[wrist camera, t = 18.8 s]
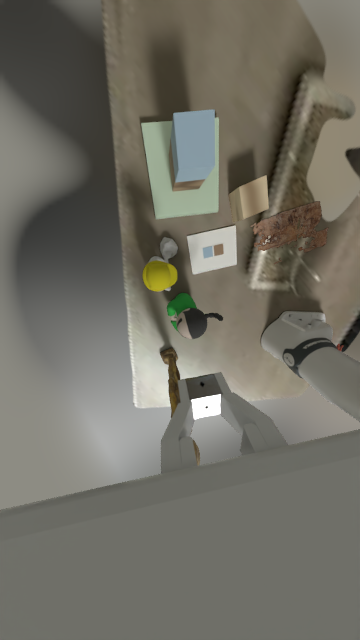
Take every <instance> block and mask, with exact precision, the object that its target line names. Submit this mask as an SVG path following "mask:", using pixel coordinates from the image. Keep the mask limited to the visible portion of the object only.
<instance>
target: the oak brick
mask: <svg viewBox="0 0 360 640" xmlns="http://www.w3.org/2000/svg"><path fill="white" fill-rule="evenodd" d="M229 201H230V207H231V213H232V219H233V222H236V221H239V220H242V219H245V218H247V217H250V216H252V215H255V214H257V213H259V212H262V211H264V210H267V209H269V206H268V190H267V175H266V176H263V177H261V178H259V179H256V180H254V181H252V182H249V183H247V184H245V185H242V186H240V187H238V188H237V189H236V190H234V191H233V192H231V193H230V194H229Z"/></svg>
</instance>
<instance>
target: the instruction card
mask: <svg viewBox="0 0 360 640" xmlns="http://www.w3.org/2000/svg"><path fill="white" fill-rule="evenodd" d="M187 241H188V247H189V254H190V260H191V267H192V273H193V274H198V273H202V272H206V271H211V270H215V269H219V268H224V267H228V266H232V265H236V264H237V257H236V225H235V226H231V227H226V228H222V229H217V230H213V231H208V232H204V233H199V234H195V235H191V236H187Z"/></svg>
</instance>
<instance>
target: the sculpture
mask: <svg viewBox="0 0 360 640" xmlns="http://www.w3.org/2000/svg"><path fill="white" fill-rule="evenodd" d="M160 355H161V357H162V360H163V361H164V363H165V364H167V365H169V368H168V373H169V380H168V383H169V397H170V403H171V409H172V413H171V418H172V416H173V414H174V412H175V410H176V408H177V405H178V403H181V401H180V394H179V387H178V380H180V374H179V371H178V368H177V366H176V360H177V359H178V357H177V354H176V353H175V351H174V349H173V348H170V349H168V350H165V351H163V352H160ZM191 432H192V431H191ZM193 445H194V450H195V456H196V461H197V466H198V465H199V463H200V453H199V449H198V446H197V445H196V443H195V441H194V440H193Z"/></svg>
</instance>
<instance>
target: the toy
mask: <svg viewBox="0 0 360 640" xmlns="http://www.w3.org/2000/svg"><path fill="white" fill-rule="evenodd" d="M167 312H168V315H169V316H170V318H171V323H172V325H173V326H174V328H175V329H176V330H177V331H178V332H179V333H180V334H181V335H182V336H183V337H185V338H188V339H189V338H190V339H195V338H198V337H200V336H202V335H203V334H204V332H205V331H206V328H207V318H208V317H210V318H212V317H215V318H217V319H218V320H219V321H222V320H223V317H222V316H221V315H219V314H218V313H209V314H205V315H204V313H203V312H202V311H200V310H199V309H197V307H196V305H195V303H194V301H193V299H192V298H191V297H190V296H189V295H188V294H187V293H180V294H178V295H177V296H176V297H175V298H174V300H172V301H171V302H169V303H168V305H167ZM175 312H176V313H177V316H178V318H177V317H175V316H176V314H175Z"/></svg>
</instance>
